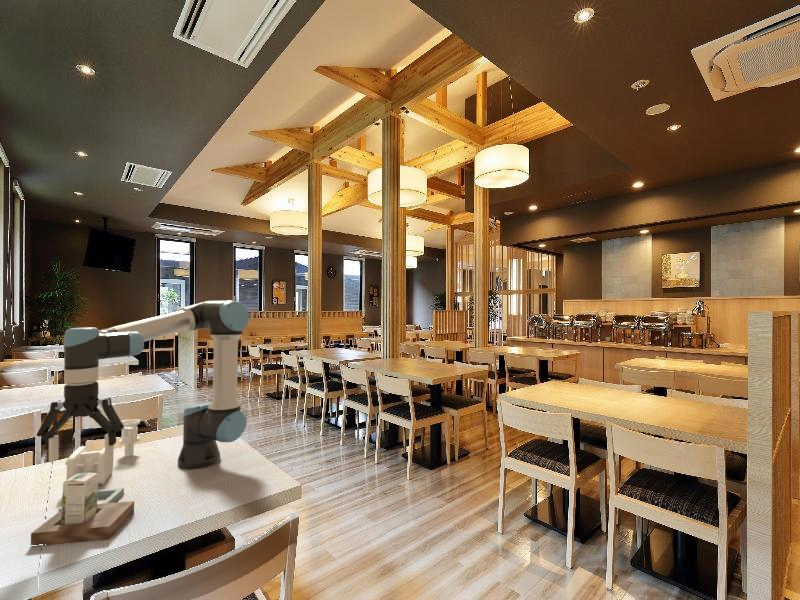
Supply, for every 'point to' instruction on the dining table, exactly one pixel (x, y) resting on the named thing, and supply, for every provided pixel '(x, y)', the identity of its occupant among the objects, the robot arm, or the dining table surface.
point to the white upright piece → (129, 436)
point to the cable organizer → (90, 463)
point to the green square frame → (109, 495)
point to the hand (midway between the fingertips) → (81, 458)
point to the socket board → (84, 526)
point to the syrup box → (79, 498)
